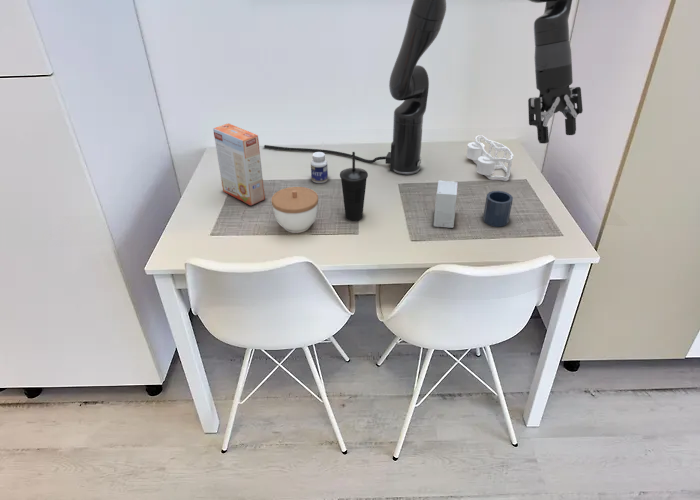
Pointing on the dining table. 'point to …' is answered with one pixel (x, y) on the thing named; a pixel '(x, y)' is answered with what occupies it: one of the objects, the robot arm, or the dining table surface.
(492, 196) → the coffee cup
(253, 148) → the cracker box
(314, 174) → the pill bottle
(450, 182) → the small box
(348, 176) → the drinking cup
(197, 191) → the dining table surface
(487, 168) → the skeletal toy car
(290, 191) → the lidded bowl
